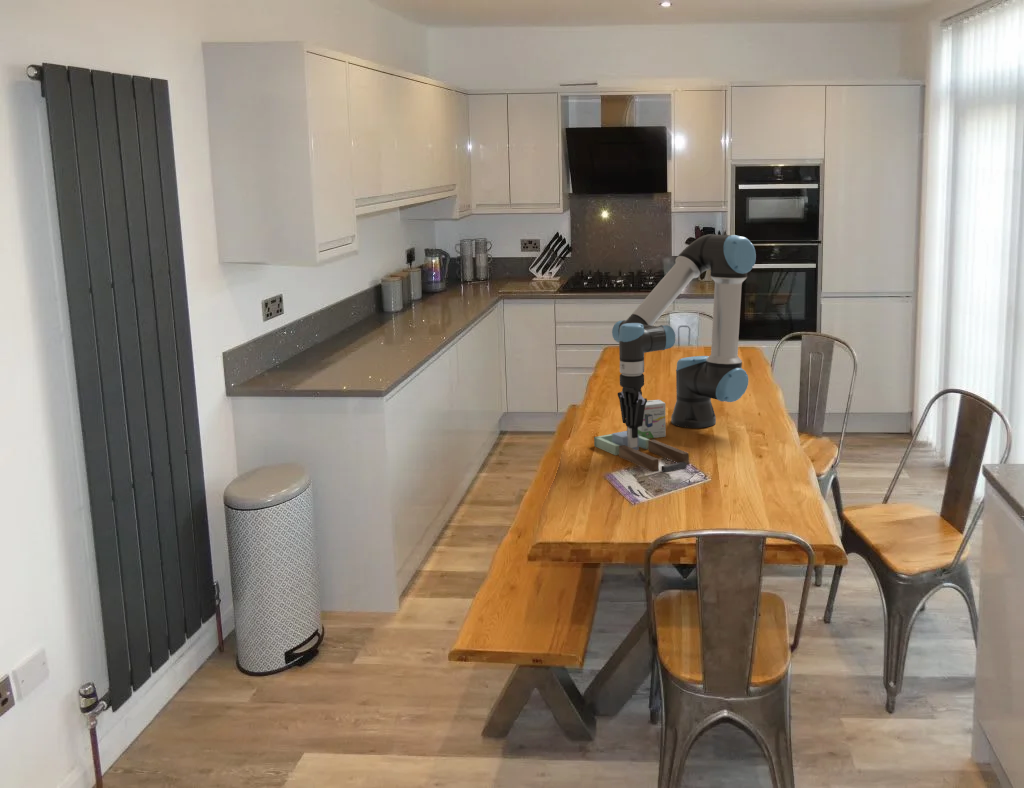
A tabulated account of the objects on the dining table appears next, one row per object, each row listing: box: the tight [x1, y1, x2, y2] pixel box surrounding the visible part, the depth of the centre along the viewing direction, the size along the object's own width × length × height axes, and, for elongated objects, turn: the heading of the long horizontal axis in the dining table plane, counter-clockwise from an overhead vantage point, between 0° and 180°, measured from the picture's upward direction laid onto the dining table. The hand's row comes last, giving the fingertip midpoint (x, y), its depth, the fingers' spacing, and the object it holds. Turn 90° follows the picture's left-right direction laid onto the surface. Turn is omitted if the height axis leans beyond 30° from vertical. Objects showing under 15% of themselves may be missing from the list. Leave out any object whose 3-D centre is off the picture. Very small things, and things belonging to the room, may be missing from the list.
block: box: [611, 430, 640, 451], centre depth 320 cm, size 6×6×5 cm
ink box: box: [638, 399, 667, 440], centre depth 333 cm, size 9×5×12 cm, turn 105°
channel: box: [618, 439, 690, 473], centre depth 307 cm, size 13×18×4 cm
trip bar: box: [661, 462, 688, 473], centre depth 298 cm, size 8×2×2 cm, turn 117°
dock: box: [593, 433, 651, 456], centre depth 322 cm, size 13×12×3 cm
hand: (632, 446), depth 317 cm, fingers closed
